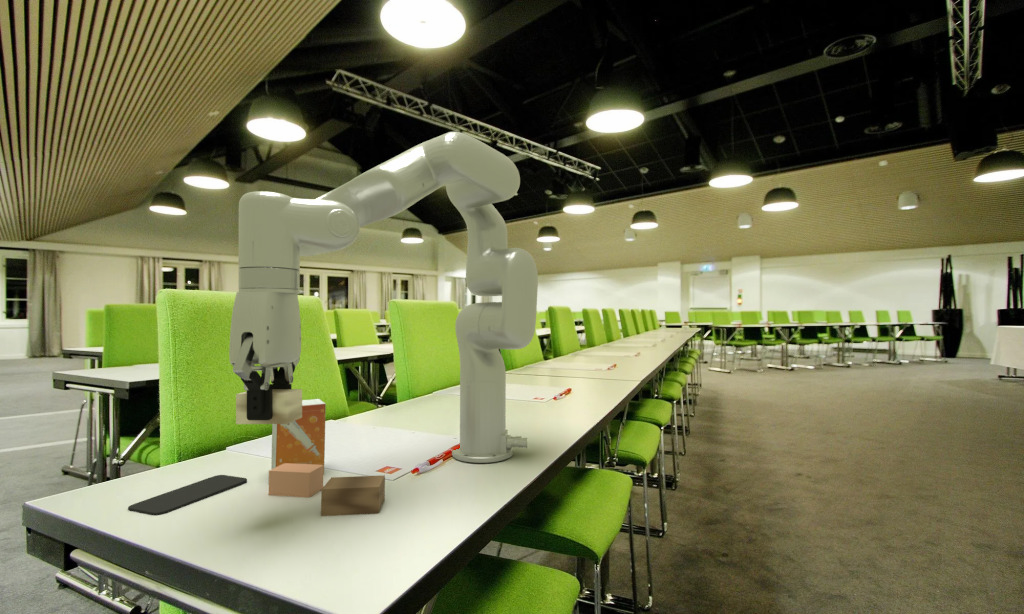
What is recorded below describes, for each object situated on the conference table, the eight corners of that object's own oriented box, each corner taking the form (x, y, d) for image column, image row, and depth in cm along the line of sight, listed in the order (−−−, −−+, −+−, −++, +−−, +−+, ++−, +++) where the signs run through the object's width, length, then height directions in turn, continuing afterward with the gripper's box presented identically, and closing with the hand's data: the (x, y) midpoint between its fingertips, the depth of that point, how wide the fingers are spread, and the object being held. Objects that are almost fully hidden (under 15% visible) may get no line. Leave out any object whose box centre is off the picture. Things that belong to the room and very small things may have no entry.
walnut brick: (384, 501, 70) (384, 475, 71) (378, 515, 66) (379, 486, 66) (331, 503, 70) (331, 477, 70) (321, 517, 65) (321, 489, 65)
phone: (123, 507, 67) (219, 474, 81) (123, 512, 67) (219, 478, 81) (158, 513, 65) (250, 478, 79) (158, 519, 65) (250, 483, 79)
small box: (274, 484, 77) (276, 407, 78) (270, 474, 83) (272, 401, 83) (325, 475, 82) (326, 402, 82) (318, 466, 87) (319, 397, 88)
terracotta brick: (323, 489, 76) (323, 464, 76) (309, 498, 72) (309, 472, 72) (284, 487, 77) (284, 463, 77) (268, 496, 73) (268, 470, 73)
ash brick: (302, 417, 65) (302, 389, 65) (286, 424, 61) (286, 393, 61) (254, 417, 65) (254, 389, 65) (235, 424, 61) (236, 394, 61)
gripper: (277, 287, 72) (277, 404, 71) (199, 278, 55) (199, 431, 55) (324, 287, 71) (324, 404, 71) (260, 277, 55) (260, 431, 54)
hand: (270, 414), depth 63 cm, fingers closed on ash brick, 4 cm apart
